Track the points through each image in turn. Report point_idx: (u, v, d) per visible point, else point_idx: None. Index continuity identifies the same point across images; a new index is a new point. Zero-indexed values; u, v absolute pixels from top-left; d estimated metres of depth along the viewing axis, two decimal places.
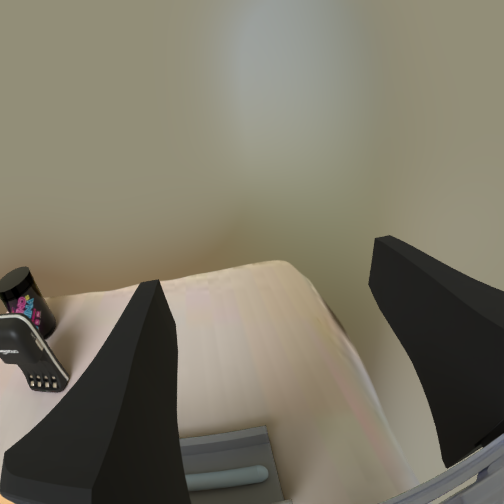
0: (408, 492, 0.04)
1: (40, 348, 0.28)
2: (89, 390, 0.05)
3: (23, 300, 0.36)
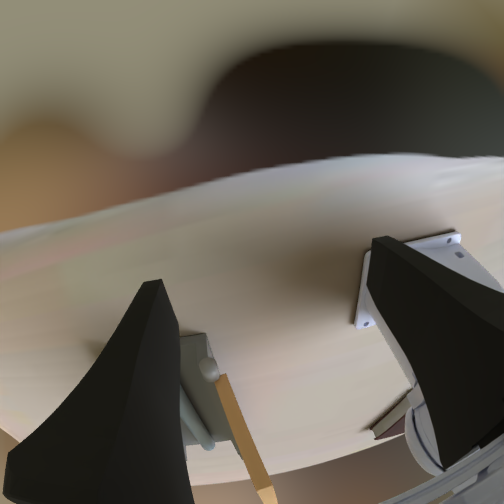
0: (408, 492, 0.04)
1: None
2: (94, 389, 0.05)
3: None
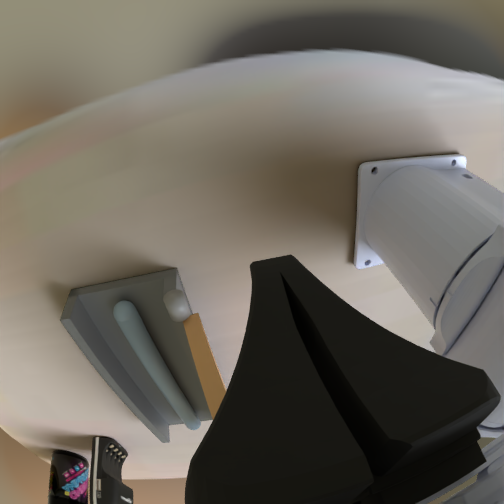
0: None
1: (100, 481, 0.26)
2: (265, 367, 0.05)
3: (71, 494, 0.29)
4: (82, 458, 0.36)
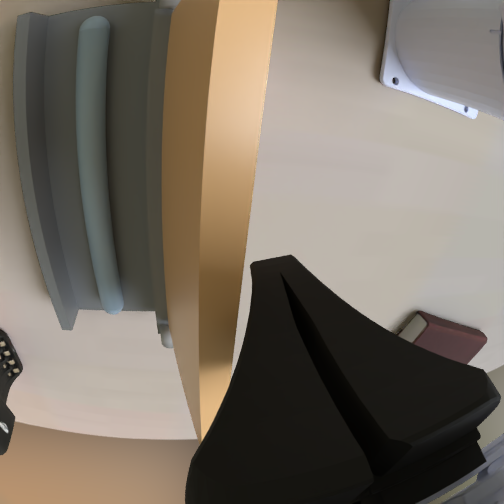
0: None
1: None
2: (266, 367, 0.05)
3: None
4: None
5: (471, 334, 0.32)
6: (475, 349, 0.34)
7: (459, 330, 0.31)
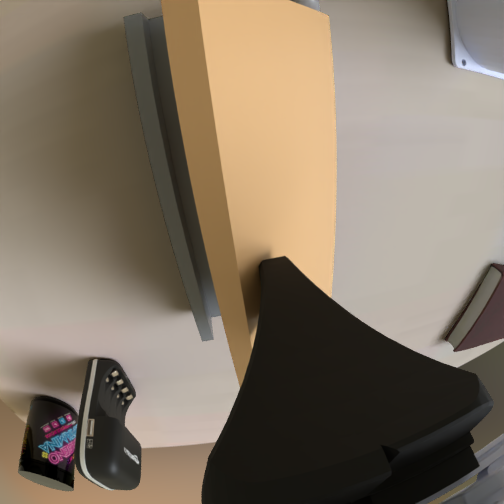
0: None
1: (93, 422, 0.19)
2: (279, 365, 0.05)
3: (51, 457, 0.22)
4: (71, 408, 0.28)
5: None
6: None
7: None
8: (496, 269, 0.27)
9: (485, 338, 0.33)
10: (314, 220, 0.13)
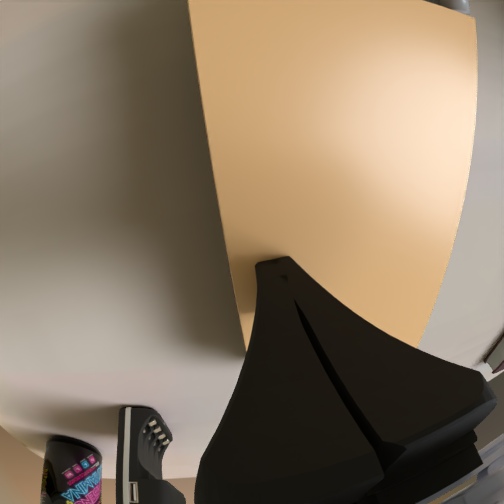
0: None
1: (136, 486, 0.15)
2: (273, 365, 0.05)
3: None
4: (93, 449, 0.24)
5: None
6: None
7: None
8: None
9: None
10: (392, 255, 0.10)
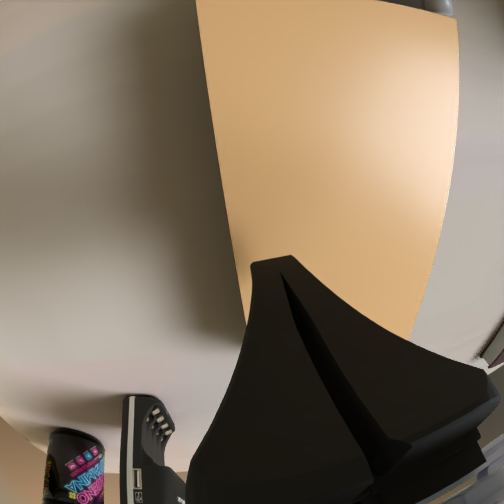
0: None
1: (139, 472, 0.16)
2: (265, 367, 0.05)
3: (79, 497, 0.18)
4: (96, 441, 0.25)
5: None
6: None
7: None
8: None
9: None
10: (380, 236, 0.12)
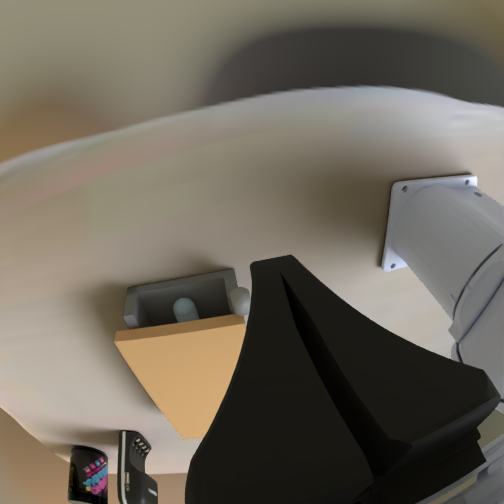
0: None
1: (128, 474, 0.29)
2: (265, 367, 0.05)
3: (92, 489, 0.31)
4: (102, 453, 0.38)
5: None
6: None
7: None
8: None
9: None
10: (218, 397, 0.24)
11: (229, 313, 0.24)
